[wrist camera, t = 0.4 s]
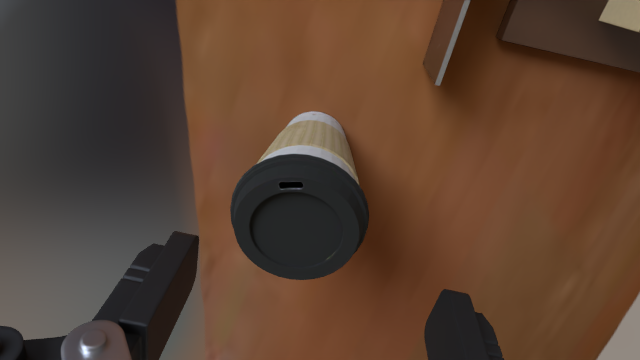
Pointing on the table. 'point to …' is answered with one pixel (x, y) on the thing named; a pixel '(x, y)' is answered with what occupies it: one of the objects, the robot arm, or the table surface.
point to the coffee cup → (301, 202)
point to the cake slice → (622, 14)
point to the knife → (444, 38)
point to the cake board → (571, 31)
